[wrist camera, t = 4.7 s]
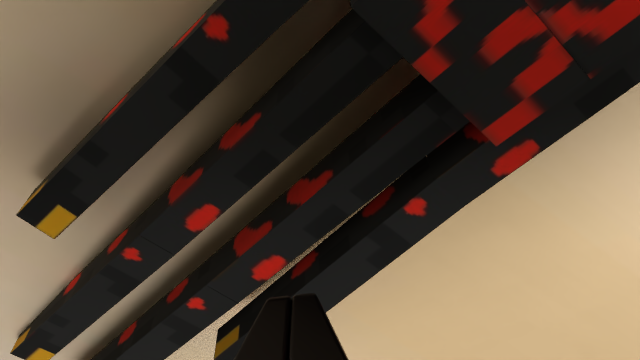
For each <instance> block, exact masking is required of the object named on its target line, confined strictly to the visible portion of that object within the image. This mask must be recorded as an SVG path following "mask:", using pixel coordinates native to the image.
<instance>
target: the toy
mask: <svg viewBox="0 0 640 360" xmlns="http://www.w3.org/2000/svg"><path fill="white" fill-rule="evenodd" d="M308 1H309V0H217V1H216V2H215V3H214V4H213V5H212V6H211V7H210V8H209V9H208V10H207V11H206V12H205V13H204V14H203V16H202V17H201V18H200V19H199V20H198V21H197V22H196V23H195V24H194V25H193V26H192V27H191V28H190V29H189V30H188V31H187V32H186V33H185V34H184V35H183V36H182V37H181V38H180V39H179V40H178V41H177V43H176V44H175V45H174V46H173V47H172V48H171V49H170V50H169V51H168V52H167V53H166V54H165V55H164V56H163V57H162V58H161V59H160V60H159V61H158V62H157V63H156V64H155V65H154V66H153V67H152V68H151V69H150V71H149V72H148V73H147V74H146V75H145V76H144V77H143V78H142V79H141V80H140V81H139V82H138V83H137V84H136V85H135V86H134V87H133V88H132V89H131V90H130V91H129V92H128V93H127V94H126V95H125V96H124V98H123V99H122V100H121V101H120V102H119V103H118V104H117V105H116V106H115V107H114V108H113V109H112V110H111V111H110V112H109V113H108V114H107V115H106V116H105V117H104V118H103V119H102V120H101V121H100V122H99V123H98V124H97V126H96V127H95V128H94V129H93V130H92V131H91V132H90V133H89V134H88V135H87V136H86V137H85V138H84V139H83V140H82V141H81V142H80V143H79V144H78V145H77V146H76V147H75V148H74V149H73V150H72V151H71V152H70V154H69V155H68V156H67V157H66V158H65V159H64V160H63V161H62V162H61V163H60V164H59V165H58V166H57V167H56V168H55V169H54V170H53V171H52V172H51V173H50V174H49V175H48V176H47V177H46V178H45V179H44V181H43V182H42V183H41V184H40V185H39V186H38V187H37V188H36V189H35V190H34V191H33V193H32V194H31V196H30V197H29V198H28V200H27V201H26V202H25V204H24V205H23V207H22V208H21V209H20V211H19V212H18V213H17V216H18V217H20V218H21V219H23V220H25V221H26V222H28V223H29V224H31V225H32V226H34V227H36V228H37V229H39V230H40V231H42V232H44V233H45V234H47V235H48V236H50V237H52V238H53V239H55V238H56V237H58V236H59V235H60V234H61V233H62V232H63V231H64V230H65V229H66V228H67V227H68V226H69V225H70V224H71V223H72V222H73V221H75V220H76V219H77V218H78V217H79V216H80V215H81V214H82V213H83V212H84V211H85V210H86V209H87V208H88V207H89V206H90V205H91V204H93V203H94V202H95V201H96V200H97V199H98V198H99V197H100V196H101V195H102V194H103V193H104V192H105V191H106V190H107V189H108V188H110V187H111V186H112V185H113V184H114V183H115V182H116V181H117V180H118V179H119V178H120V177H121V176H122V175H123V174H124V173H125V172H126V171H128V170H129V169H130V168H131V167H132V166H133V165H134V164H135V163H136V162H137V161H138V160H139V159H140V158H141V157H142V156H143V155H145V154H146V153H147V152H148V151H149V150H150V149H151V148H152V147H153V146H154V145H155V144H156V143H157V142H158V141H159V140H160V139H161V138H163V137H164V136H165V135H166V134H167V133H168V132H169V131H170V130H171V129H172V128H173V127H174V126H175V125H176V124H177V123H178V122H180V121H181V120H182V119H183V118H184V117H185V116H186V115H187V114H188V113H189V112H190V111H191V110H192V109H193V108H194V107H195V106H196V105H198V104H199V103H200V102H201V101H202V100H203V99H204V98H205V97H206V96H207V95H208V94H209V93H210V92H211V91H212V90H213V89H215V88H216V87H217V86H218V85H219V84H220V83H221V82H222V81H223V80H224V79H225V78H226V77H227V76H228V75H229V74H230V73H231V72H233V71H234V70H235V69H236V68H237V67H238V66H239V65H240V64H241V63H242V62H243V61H244V60H245V59H246V58H247V57H248V56H250V55H251V54H252V53H253V52H254V51H255V50H256V49H257V48H258V47H259V46H260V45H261V44H262V43H263V42H264V41H265V40H266V39H268V38H269V37H270V36H271V35H272V34H273V33H274V32H275V31H276V30H277V29H278V28H279V27H280V26H282V25H283V24H284V23H285V22H286V21H287V20H288V19H289V18H290V17H291V16H293V15H294V14H295V13H296V12H297V11H298V10H299V9H300V8H301V7H302V6H303V5H305V4H306V3H307V2H308ZM350 4H351V8H352V10H351V11H350V12H349V13H348V14H347V15H345V16H344V17H343V18H342V19H341V20H340V21H339V22H338V23H337V24H336V25H335V26H334V27H333V28H332V29H331V30H330V31H329V32H328V33H327V34H326V35H325V36H324V37H323V38H322V39H321V40H320V41H319V42H318V43H317V44H316V45H315V46H314V47H313V48H312V49H311V50H310V51H309V52H308V53H307V54H306V55H305V56H304V57H302V58H301V59H300V60H299V61H298V62H297V63H296V64H295V65H294V66H293V67H292V68H291V69H290V70H289V71H288V72H287V73H286V74H285V75H284V76H283V77H282V78H281V79H280V80H279V81H278V82H277V83H276V84H275V85H274V86H273V87H272V88H271V89H270V90H269V91H268V92H267V93H266V94H265V95H264V96H263V97H262V98H261V99H260V100H258V101H257V102H256V103H255V104H254V105H253V106H252V107H251V108H250V109H249V110H248V111H247V112H246V113H245V114H244V115H243V116H242V117H241V118H240V119H239V120H238V121H237V122H236V123H235V124H234V125H233V126H232V127H231V128H230V129H229V130H228V131H227V132H226V133H225V134H224V135H223V136H222V137H221V138H220V139H219V140H218V141H217V142H215V143H214V144H213V145H212V146H211V147H210V148H209V149H208V150H207V151H206V152H205V153H204V154H203V155H202V156H201V157H200V158H199V159H198V160H197V161H196V162H195V163H194V164H193V165H192V166H191V167H190V168H189V169H188V170H187V171H186V172H185V173H184V174H183V175H182V176H181V177H180V178H179V179H178V180H177V181H176V182H175V183H174V184H172V185H171V186H170V187H169V188H168V189H167V190H166V191H165V192H164V193H163V194H162V195H161V196H160V197H159V198H158V199H157V200H156V201H155V202H154V203H153V204H152V205H151V206H150V207H149V208H148V209H147V210H146V211H145V212H144V213H143V214H142V215H140V216H139V217H138V218H137V219H136V220H135V221H134V222H133V223H132V224H131V225H130V226H129V227H128V228H127V229H126V230H125V231H124V232H123V233H122V234H120V235H119V236H118V237H117V238H116V239H115V240H114V241H113V242H112V243H111V244H110V245H109V246H108V247H107V248H106V249H105V250H104V251H103V252H102V253H100V254H99V255H98V256H97V257H96V258H95V259H94V260H93V261H92V262H91V263H90V264H89V265H88V266H87V267H86V268H85V269H84V270H83V271H82V272H80V273H79V274H78V275H77V276H76V277H75V278H74V279H73V280H72V281H71V282H70V283H69V284H68V285H67V287H66V288H65V289H64V290H63V291H62V292H61V293H60V294H59V295H58V296H57V297H56V298H55V299H54V300H53V301H52V302H51V303H50V304H49V305H48V306H47V307H46V308H45V309H44V310H43V311H42V313H41V314H40V315H39V316H38V317H37V318H36V319H35V320H34V321H33V322H32V323H31V324H30V325H29V326H28V327H27V328H26V329H25V330H24V331H23V332H22V333H21V334H20V335H19V337H18V339H17V341H16V343H15V345H14V347H13V349H12V351H11V353H10V354H12V355H15V356H17V357H20V358H22V359H24V360H49V359H51V358H52V357H53V356H54V355H55V354H57V353H58V352H59V351H60V350H61V349H63V348H64V347H65V346H66V345H67V344H69V343H70V342H71V341H72V340H73V339H75V338H76V337H77V336H78V335H79V334H81V333H82V332H83V331H84V330H85V329H87V328H88V327H89V326H90V325H91V324H93V323H94V322H95V321H96V320H97V319H99V318H100V317H101V316H102V315H103V314H105V313H106V312H107V311H108V310H109V309H111V308H112V307H113V306H114V305H115V304H117V303H118V302H119V301H120V300H121V299H123V298H124V297H125V296H126V295H127V294H129V293H130V292H131V291H132V290H133V289H135V288H136V287H137V286H138V285H139V284H141V283H142V282H143V281H144V280H145V279H147V278H148V277H149V276H150V275H151V274H153V273H154V272H155V271H156V270H157V269H159V268H160V267H161V266H162V265H163V264H165V263H166V262H167V261H168V260H169V259H171V258H172V257H173V256H174V255H175V254H177V253H178V252H179V251H180V250H181V249H182V248H183V247H185V246H186V245H187V244H188V243H189V242H190V241H192V240H193V239H194V238H195V237H196V236H197V235H198V234H200V233H201V232H202V231H203V230H204V229H205V228H207V227H208V226H209V225H210V224H211V223H212V222H213V221H215V220H216V219H217V218H218V217H219V216H220V215H222V214H223V213H224V212H225V211H226V210H227V209H228V208H230V207H231V206H232V205H233V204H234V203H235V202H237V201H238V200H239V199H240V198H241V197H242V196H243V195H245V194H246V193H247V192H248V191H249V190H250V189H252V188H253V187H254V186H255V185H256V184H257V183H258V182H260V181H261V180H262V179H263V178H264V177H265V176H267V175H268V174H269V173H270V172H271V171H272V170H273V169H275V168H276V167H277V166H278V165H279V164H280V163H282V162H283V161H284V160H285V159H286V158H287V157H288V156H290V155H291V154H292V153H293V152H294V151H295V150H297V149H298V148H299V147H300V146H301V145H302V144H303V143H305V142H306V141H307V140H308V139H309V138H310V137H311V136H313V135H314V134H315V133H316V132H317V131H318V130H320V129H321V128H322V127H323V126H324V125H325V124H326V123H328V122H329V121H330V120H331V119H332V118H333V117H335V116H336V115H337V114H338V113H339V112H340V111H341V110H343V109H344V108H345V107H346V106H347V105H348V104H350V103H351V102H352V101H353V100H354V99H355V98H356V97H358V96H359V95H360V94H361V93H362V92H363V91H365V90H366V89H367V88H368V87H369V86H370V85H371V84H373V83H374V82H375V81H376V80H377V79H378V78H380V77H381V76H382V75H383V74H384V73H385V72H386V71H388V70H389V69H390V68H391V67H392V66H393V65H395V64H396V63H397V62H398V61H399V60H400V59H401V58H403V57H404V58H405V59H406V60H407V61H408V62H409V63H410V64H411V65H412V66H413V67H414V68H415V69H416V70H417V71H418V72H419V73H420V75H419V76H418V77H417V78H416V79H415V80H413V81H412V82H411V83H410V84H409V85H408V86H406V87H405V88H404V89H403V90H402V91H401V92H400V93H398V94H397V95H396V96H395V97H394V98H393V99H392V100H390V101H389V102H388V103H387V104H386V105H385V106H384V107H382V108H381V109H380V110H379V111H378V112H377V113H375V114H374V115H373V116H372V117H371V118H370V119H369V120H367V121H366V122H365V123H364V124H363V125H362V126H361V127H359V128H358V129H357V130H356V131H355V132H354V133H353V134H351V135H350V136H349V137H348V138H347V139H346V140H344V141H343V142H342V143H341V144H340V145H339V146H338V147H336V148H335V149H334V150H333V151H332V152H331V153H330V154H328V155H327V156H326V157H325V158H324V159H323V160H322V161H320V162H319V163H318V164H317V165H316V166H315V167H313V168H312V169H311V170H310V171H309V172H308V173H307V174H305V175H304V176H303V177H302V178H301V179H300V180H299V181H297V182H296V183H295V184H294V185H293V186H292V187H291V188H289V189H288V190H287V191H286V192H285V193H284V194H282V195H281V196H280V197H279V198H278V199H277V200H276V201H274V202H273V203H272V204H271V205H270V206H269V207H268V208H266V209H265V210H264V211H263V212H262V213H261V214H260V215H258V216H257V217H256V218H255V219H254V220H253V221H251V222H250V223H249V224H248V225H247V226H246V227H245V228H243V229H242V230H241V231H240V232H239V233H238V234H237V235H235V236H234V237H233V238H232V239H231V240H230V241H229V242H227V243H226V244H225V245H224V246H223V247H222V248H220V249H219V250H218V251H217V252H216V253H215V254H214V255H212V256H211V257H210V258H209V259H208V260H207V261H205V262H204V263H203V264H202V265H201V266H200V267H198V268H197V269H196V270H195V271H194V272H193V273H191V274H190V275H189V276H188V277H187V278H186V279H184V280H183V281H182V282H181V283H180V284H178V285H177V286H176V287H175V288H174V289H173V290H171V291H170V292H169V293H168V294H167V295H166V296H164V297H163V298H162V299H161V300H160V301H159V302H157V303H156V304H155V305H154V306H153V307H152V308H150V309H149V310H148V311H147V312H146V313H145V314H143V315H142V316H141V317H140V318H139V319H137V320H136V321H135V322H134V323H133V324H132V325H130V326H129V327H128V328H127V329H126V330H125V331H123V332H122V333H121V334H120V335H119V336H118V337H116V338H115V339H114V340H113V341H112V342H111V343H109V344H108V345H107V346H106V347H105V348H104V349H102V350H101V351H100V352H99V353H98V354H97V355H95V356H94V357H93V358H92V359H91V360H164V359H166V358H167V357H168V356H170V355H171V354H172V353H173V352H175V351H176V350H177V349H179V348H180V347H181V346H183V345H184V344H185V343H187V342H188V341H189V340H190V339H192V338H193V337H194V336H196V335H197V334H198V333H200V332H201V331H202V330H204V329H205V328H206V327H207V326H209V325H210V324H211V323H213V322H214V321H215V320H217V319H218V318H219V317H221V316H222V315H223V314H225V313H226V312H227V311H228V310H230V309H231V308H232V307H234V306H235V305H236V304H238V303H239V302H240V301H241V300H243V299H244V298H245V297H247V296H248V295H249V294H250V293H252V292H253V291H254V290H255V289H257V288H258V287H259V286H261V285H262V284H263V283H264V282H266V281H267V280H268V279H270V278H271V277H272V276H273V275H275V274H276V273H277V272H278V271H280V270H281V269H282V268H284V267H285V266H286V265H287V264H289V263H290V262H291V261H292V260H294V259H295V258H296V257H298V256H299V255H300V254H301V253H303V252H304V251H305V250H307V249H308V248H309V247H310V246H312V245H313V244H314V243H315V242H317V241H318V240H319V239H321V238H322V237H323V236H324V235H326V234H327V233H328V232H329V231H331V230H332V229H333V228H335V227H336V226H337V225H338V224H340V223H341V222H342V221H344V220H345V219H346V218H347V217H349V216H350V215H351V214H352V213H354V212H355V211H356V210H358V209H359V208H360V207H361V206H363V205H364V204H365V203H367V202H368V201H369V200H370V199H372V198H373V197H374V196H375V195H377V194H378V193H379V192H381V191H382V190H383V189H384V188H386V187H387V186H388V185H389V184H391V183H392V182H393V181H394V182H393V183H392V184H391V185H390V186H388V187H387V188H386V189H385V190H384V191H382V192H381V193H380V194H379V195H378V196H376V197H375V198H374V199H373V200H372V201H370V202H369V203H368V204H367V205H366V206H365V207H363V208H362V209H361V210H360V211H359V212H357V213H356V214H355V215H354V216H353V217H351V218H350V219H349V220H348V221H347V222H345V223H344V224H343V225H342V226H341V227H340V228H338V229H337V230H336V231H335V232H334V233H332V234H331V235H330V236H329V237H328V238H326V239H325V240H324V241H323V242H322V243H320V244H319V245H318V246H317V247H316V248H315V249H313V250H312V251H311V252H310V253H309V254H307V255H306V256H305V257H304V258H303V259H301V260H300V261H299V262H298V263H297V264H295V265H294V266H293V267H292V268H291V269H290V270H288V271H287V272H286V273H285V274H284V275H282V276H281V277H280V278H279V279H278V280H276V281H275V282H274V283H273V284H272V285H270V286H269V287H268V288H267V289H266V290H265V291H263V292H262V293H261V294H260V295H259V296H257V297H256V298H255V299H254V300H253V301H251V302H250V303H249V304H248V305H247V306H245V307H244V308H243V309H242V310H241V311H240V312H238V313H237V314H236V315H235V316H234V317H232V318H231V319H230V320H229V321H228V322H226V323H225V324H224V325H223V326H222V327H220V328H219V329H218V333H217V340H216V348H215V355H214V360H234V358H235V356H236V355H237V353H238V351H239V349H240V347H241V346H242V344H243V342H244V340H245V338H246V336H247V335H248V333H249V331H250V329H251V327H252V326H253V324H254V322H255V320H256V318H257V316H258V315H259V313H260V311H261V309H262V307H263V306H264V304H265V302H266V301H267V300H268V299H269V298H273V297H282V296H290V297H291V298H293V296H295V295H300V294H309V293H314V294H316V295H317V297H318V299H319V301H320V303H321V305H322V307H323V309H324V311H325V313H326V312H327V311H328V310H330V309H331V308H332V307H334V306H335V305H336V304H338V303H339V302H340V301H342V300H343V299H344V298H345V297H347V296H348V295H349V294H351V293H352V292H353V291H355V290H356V289H357V288H358V287H360V286H361V285H362V284H364V283H365V282H366V281H368V280H369V279H370V278H371V277H373V276H374V275H375V274H377V273H378V272H379V271H381V270H382V269H383V268H385V267H386V266H387V265H388V264H390V263H391V262H392V261H394V260H395V259H396V258H398V257H399V256H400V255H401V254H403V253H404V252H405V251H407V250H408V249H409V248H411V247H412V246H413V245H414V244H416V243H417V242H418V241H420V240H421V239H422V238H424V237H425V236H426V235H428V234H429V233H430V232H431V231H433V230H434V229H435V228H437V227H438V226H439V225H441V224H442V223H443V222H444V221H446V220H447V219H448V218H450V217H451V216H452V215H454V214H455V213H456V212H457V211H459V210H460V209H461V208H463V207H464V206H465V205H467V204H468V203H470V202H471V201H472V200H474V199H475V198H477V197H478V196H480V195H481V194H482V193H484V192H485V191H487V190H488V189H489V188H491V187H492V186H494V185H495V184H496V183H498V182H499V181H501V180H502V179H504V178H505V177H506V176H508V175H509V174H511V173H512V172H513V171H515V170H516V169H518V168H519V167H521V166H522V165H523V164H525V163H526V162H528V161H529V160H530V159H532V158H533V157H535V156H536V155H538V154H539V153H540V152H542V151H543V150H545V149H546V148H547V147H549V146H550V145H552V144H553V143H554V142H556V141H557V140H559V139H560V138H562V137H563V136H564V135H566V134H567V133H569V132H570V131H571V130H573V129H574V128H576V127H577V126H579V125H580V124H581V123H583V122H584V121H586V120H587V119H588V118H590V117H591V116H593V115H594V114H596V113H597V112H598V111H600V110H601V109H603V108H604V107H605V106H607V105H608V104H610V103H611V102H612V101H614V100H615V99H617V98H618V97H620V96H621V95H622V94H624V93H625V92H627V91H628V90H629V89H631V88H632V87H634V86H635V85H637V84H638V83H639V82H640V0H350ZM426 155H427V156H426ZM402 174H403V175H402ZM398 177H399V178H398ZM397 178H398V179H397ZM396 179H397V180H396Z"/></svg>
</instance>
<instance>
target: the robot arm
mask: <svg viewBox="0 0 640 360" xmlns="http://www.w3.org/2000/svg"><path fill="white" fill-rule="evenodd" d="M234 360H348V358H347V356H346V354H345V352H344V350H343V348H342V346H341V343H340V341H339V339H338V337H337V335H336V333H335V331H334V329H333V327H332V325H331V323H330V321H329V319H328V317H327V315H326V313H325V311H324V309H323V307H322V305H321V303H320V301H319V299H318V297H317V295H316V294H314V293H309V294H300V295H295V296H293V298H291V297H290V296H282V297H273V298H269V299H268V300H267V301H266V302H265V304H264V306H263V307H262V309H261V311H260V313H259V315H258V316H257V318H256V320H255V322H254V324H253V326H252V327H251V329H250V331H249V333H248V335H247V336H246V338H245V340H244V342H243V344H242V346H241V347H240V349H239V351H238V353H237V355H236V356H235V358H234Z"/></svg>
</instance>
